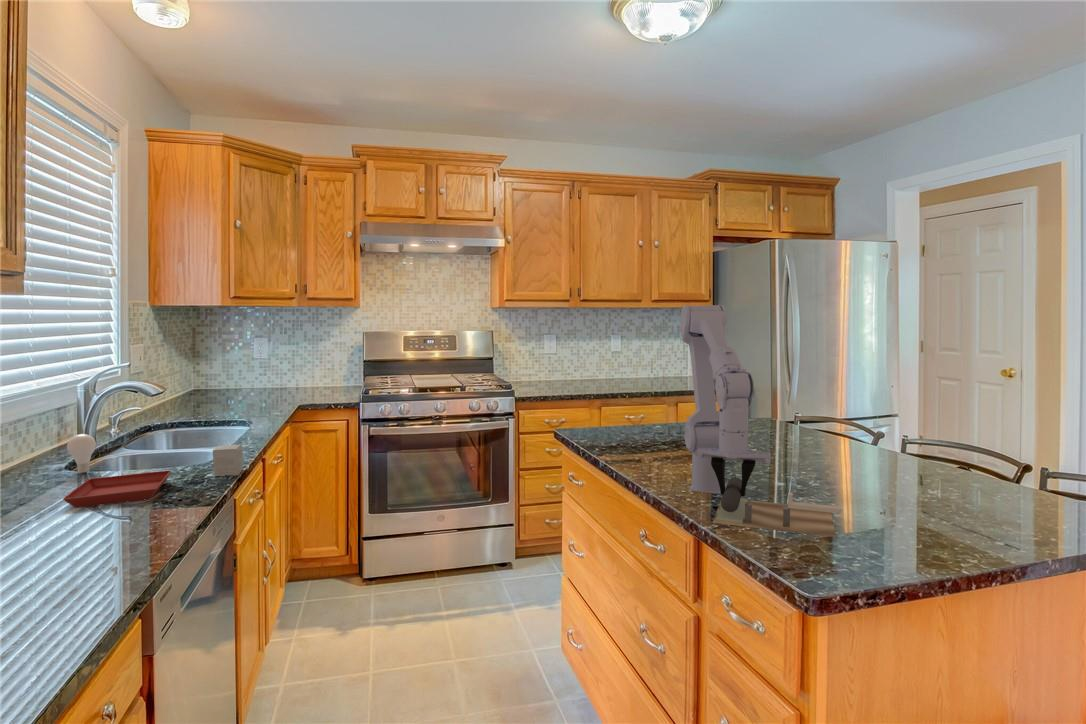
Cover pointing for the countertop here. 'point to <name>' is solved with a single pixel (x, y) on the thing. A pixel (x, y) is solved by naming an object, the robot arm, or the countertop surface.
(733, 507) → the dark grey rod
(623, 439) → the countertop surface
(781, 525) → the board
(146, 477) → the plant saucer
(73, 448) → the lightbulb
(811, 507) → the beige l-shaped block
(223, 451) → the product box
